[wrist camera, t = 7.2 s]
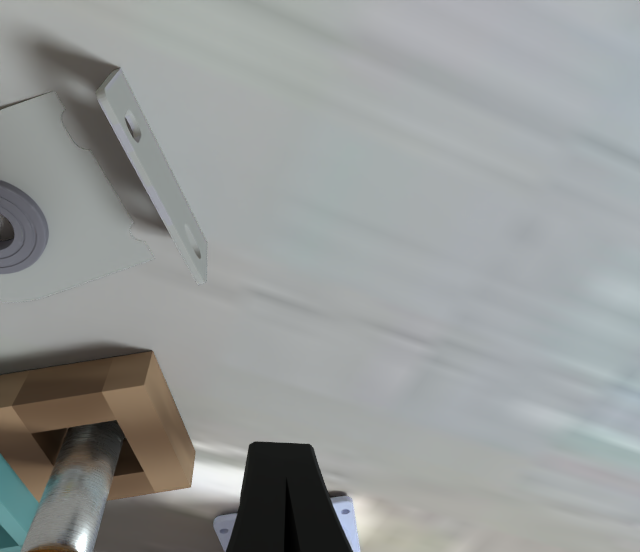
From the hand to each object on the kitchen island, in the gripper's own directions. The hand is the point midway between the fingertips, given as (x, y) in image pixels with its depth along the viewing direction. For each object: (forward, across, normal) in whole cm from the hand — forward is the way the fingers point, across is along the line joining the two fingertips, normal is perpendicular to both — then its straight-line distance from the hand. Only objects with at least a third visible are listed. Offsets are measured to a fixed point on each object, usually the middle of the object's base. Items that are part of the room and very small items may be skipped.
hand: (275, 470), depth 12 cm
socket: (+10, +6, +10) cm, 16 cm away
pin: (+10, +6, +10) cm, 16 cm away
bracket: (+10, +7, -1) cm, 13 cm away
